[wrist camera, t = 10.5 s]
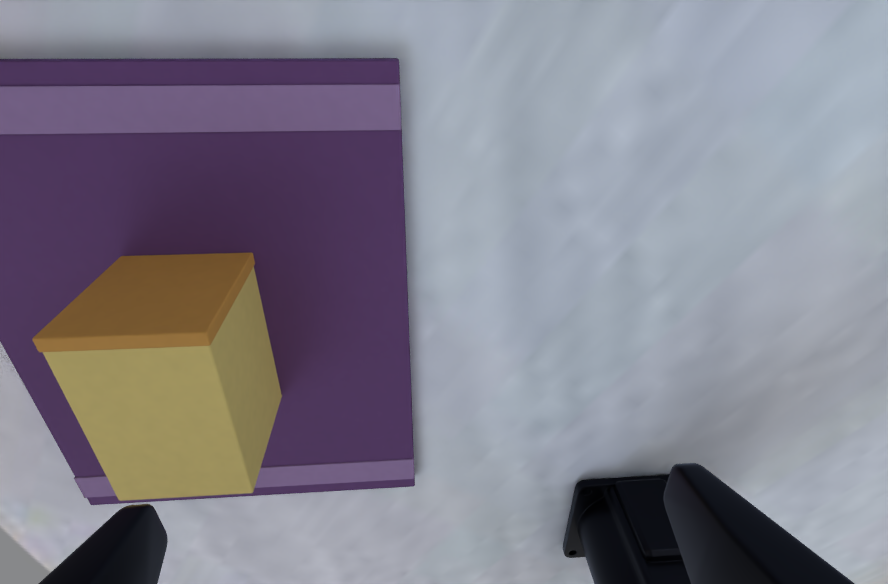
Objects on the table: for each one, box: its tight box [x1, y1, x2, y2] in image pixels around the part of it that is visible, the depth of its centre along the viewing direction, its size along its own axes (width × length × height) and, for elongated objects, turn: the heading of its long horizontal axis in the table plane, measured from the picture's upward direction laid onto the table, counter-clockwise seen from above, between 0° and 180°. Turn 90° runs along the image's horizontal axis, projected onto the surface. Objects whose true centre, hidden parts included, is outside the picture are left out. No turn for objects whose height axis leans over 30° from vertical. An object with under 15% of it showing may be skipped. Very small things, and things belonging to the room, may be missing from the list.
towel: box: [0, 58, 415, 505], centre depth 20 cm, size 20×16×1 cm
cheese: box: [32, 253, 282, 501], centre depth 18 cm, size 7×5×5 cm
